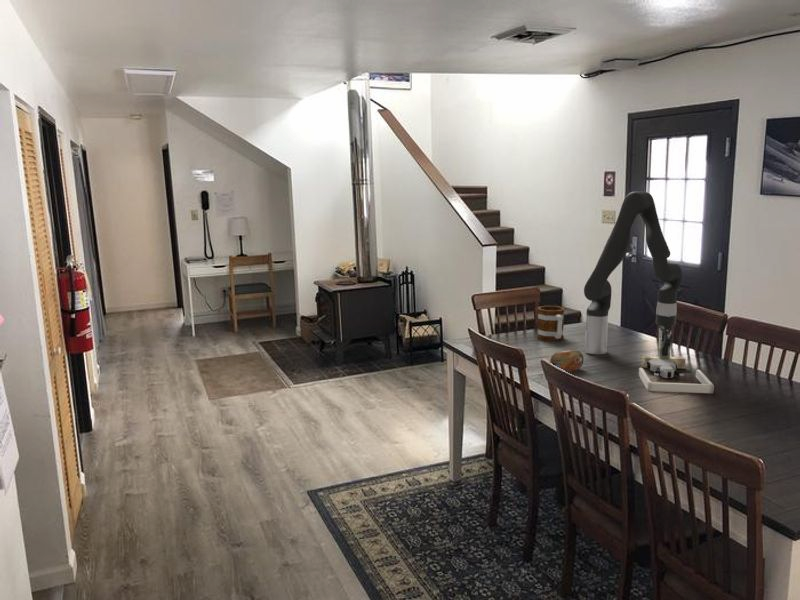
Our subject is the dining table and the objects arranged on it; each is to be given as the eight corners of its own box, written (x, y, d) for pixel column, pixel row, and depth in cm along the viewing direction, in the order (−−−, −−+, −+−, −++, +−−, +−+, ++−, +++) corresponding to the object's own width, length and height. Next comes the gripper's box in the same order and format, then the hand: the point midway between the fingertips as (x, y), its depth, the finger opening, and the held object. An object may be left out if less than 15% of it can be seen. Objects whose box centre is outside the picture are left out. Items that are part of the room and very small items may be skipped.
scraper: (643, 367, 262) (645, 339, 260) (642, 365, 265) (643, 337, 262) (684, 368, 259) (686, 340, 257) (683, 366, 262) (684, 338, 260)
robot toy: (685, 382, 246) (673, 368, 261) (686, 371, 245) (674, 357, 259) (652, 382, 247) (642, 368, 262) (653, 371, 246) (643, 357, 261)
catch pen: (648, 390, 235) (648, 383, 235) (638, 375, 254) (639, 367, 253) (713, 393, 231) (713, 385, 230) (699, 377, 250) (699, 369, 249)
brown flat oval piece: (553, 374, 257) (553, 354, 256) (548, 372, 260) (548, 352, 259) (583, 369, 263) (584, 349, 261) (578, 367, 266) (579, 347, 264)
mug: (532, 335, 320) (533, 306, 317) (558, 334, 322) (559, 304, 319) (546, 345, 301) (546, 314, 298) (573, 343, 303) (574, 313, 300)
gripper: (652, 309, 265) (650, 349, 268) (660, 316, 251) (657, 359, 255) (672, 309, 264) (669, 349, 267) (680, 317, 250) (677, 359, 253)
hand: (663, 354), depth 261 cm, fingers closed on scraper, 3 cm apart
